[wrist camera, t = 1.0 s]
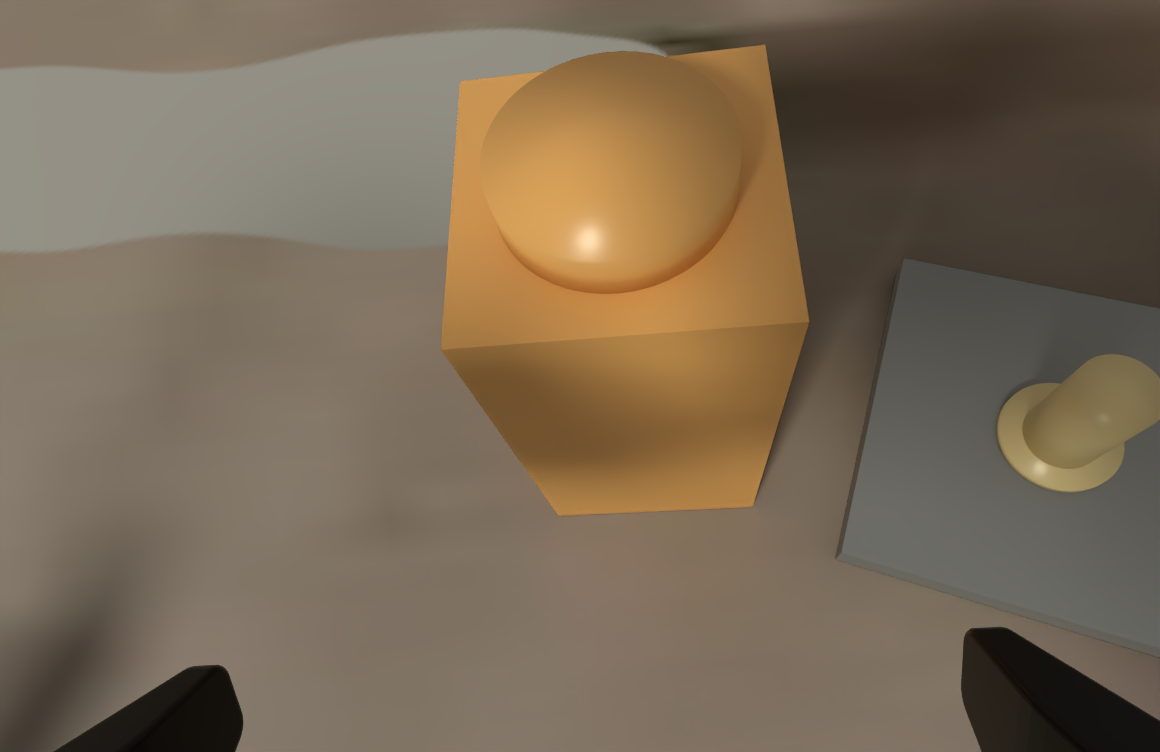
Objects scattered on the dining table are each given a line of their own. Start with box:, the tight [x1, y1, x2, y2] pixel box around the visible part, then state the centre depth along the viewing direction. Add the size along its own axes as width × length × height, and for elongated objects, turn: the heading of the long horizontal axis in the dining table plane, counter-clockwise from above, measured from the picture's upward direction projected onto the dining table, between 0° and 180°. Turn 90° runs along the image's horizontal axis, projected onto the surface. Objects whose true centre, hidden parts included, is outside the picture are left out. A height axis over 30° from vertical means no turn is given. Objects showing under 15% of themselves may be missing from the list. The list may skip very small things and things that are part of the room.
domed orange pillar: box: [441, 45, 809, 516], centre depth 18 cm, size 6×6×13 cm
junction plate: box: [835, 258, 1160, 658], centre depth 20 cm, size 10×10×4 cm
